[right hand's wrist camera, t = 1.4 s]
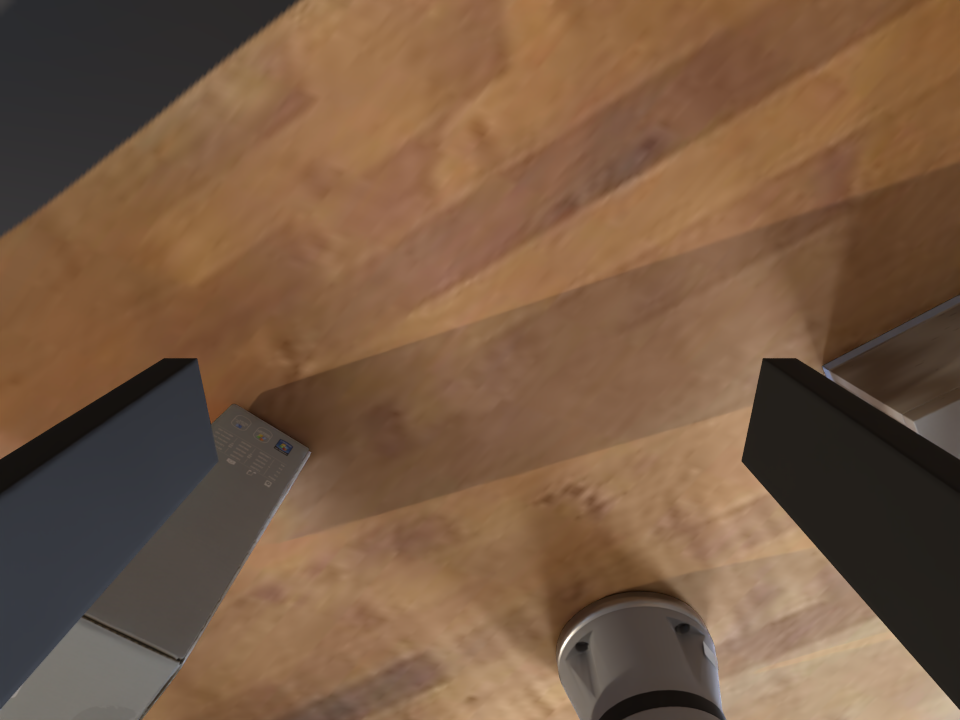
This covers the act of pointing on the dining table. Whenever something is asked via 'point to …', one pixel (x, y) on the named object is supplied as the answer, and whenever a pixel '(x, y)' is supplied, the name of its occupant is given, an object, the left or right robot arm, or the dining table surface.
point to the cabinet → (911, 374)
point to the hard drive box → (167, 585)
